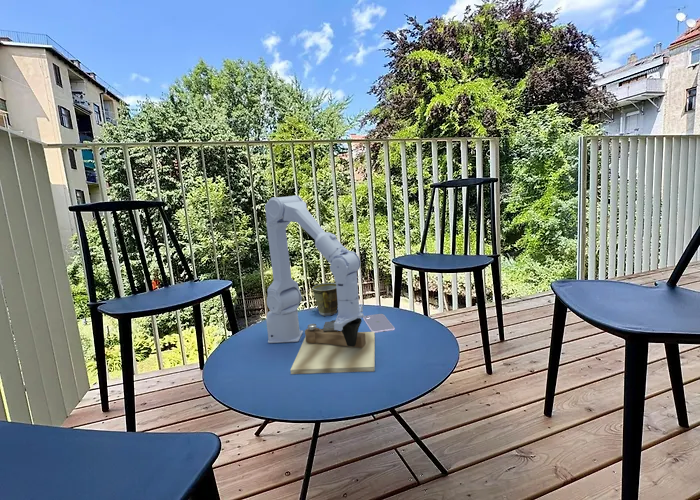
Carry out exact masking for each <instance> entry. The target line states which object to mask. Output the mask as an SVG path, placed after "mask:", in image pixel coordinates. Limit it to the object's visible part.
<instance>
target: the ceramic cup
mask: <svg viewBox="0 0 700 500" xmlns="http://www.w3.org/2000/svg"><path fill="white" fill-rule="evenodd" d="M312 293H313V295H314V300H315V302H316V306H317V311H318V314H319V315H321V316H324V317H326V316H333V315H336V314H338V302H337V290H336V282H324V283H318V284H316V285H314V286H312Z"/></svg>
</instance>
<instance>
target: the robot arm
mask: <svg viewBox="0 0 700 500" xmlns="http://www.w3.org/2000/svg"><path fill="white" fill-rule="evenodd" d="M264 210H265V211H264V212H265V219H266V224H265V225H266V233H267V239H268V245H269V247H268V248H269V255H270V263H271V271H272V278H273V279H272V282H271V284H270V285H269V286H268V287H267V297H266V305H267V308H268V309H269V311H267V314H266V319H265V320H266V321H265V322H266V329H267V330H266V331H267V337H268V340H267V343H268V344H276V343H278V344H279V343H299V341H300V339H301V337H302V335H303V334H304V333H303V332H304V330H301V329H300V323H299V321H300V320H299V313H298V309H299V308H300V307H299V305H300V304H301V302H302V299H303V298H302V293H301V290H300V289H299V283H298V281H296V280H294V279H293V278H292V271H291V262H290V255H289V248H288V247H289V246H288V238H287V227H288V226H289V225H290V223H291V222H293V223H294V222H295V223H297V224H298V225H299V226H300V227H301V228H302V229H303V230H304V231H305V232H306V233H307V234H308V235H309V236H310V237H311V238H312V239H314V246H315V248H316V250H318V251H319V253H320V254H321V255H322V256H323V257H324V258H325V260H326V261H327V262H328V263H329V269H330V272H331V274H332V276H333V277H334V283H336V290H337V302H338V308H337V316H336V318H335V320H336V321H335V322H334V330H338V331H342V333H343V335H344V337H345V340H346V343H347V346H352V347H354V346H355V345H356V339H357V333H358V332H359V329H360V327H361V324H362V321H363V320H362V318H363V317H364V316H365V315H364V313H363V311H364V307H363V305H362V304H360V299H359V288H358V287H359V285H358V273H357V272H358V271H359V270H360V269H361V268H360V267H361V259H360V257H359V256H358V254H357V253H356V252H355V251H352V250H349V249H347V248H346V247H345V246H344V245H343V244H342V243H341V242H340V241H339V239H337V236H336V235H335V233H332V232H330V231H329V232H328V231H327V232H326V231H324V229H323V228H322V227H321V225H320V224H319V222H318V221H317V220H316V219H315V217H314V216H313V215H312V213H311V212H310V211H309V209H308V208H307V203H306V201H304V200H303V198H302V197H301V196H299V195H297V194H295V195H288V196H287V195H286V196H278V197H276V196H274V197H270V198H269V199H268V200H267V202H266V203H265V205H264Z"/></svg>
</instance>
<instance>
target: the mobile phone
mask: <svg viewBox="0 0 700 500" xmlns="http://www.w3.org/2000/svg"><path fill="white" fill-rule="evenodd" d="M362 318H363V321H364V323H366V325H367V327H368V328H369V330H370V332H375V334H376V333H378V334H379V333H384V332H385V333H386V332H392V331H395V329H396V328H395V326H394V325H393V324H392V323H391V322H390V320H389V319H388V318H387V317H386V315H385V314H383V313H378V314H377V313H375V314H368V315H364V316H363V317H362Z"/></svg>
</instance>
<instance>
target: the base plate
mask: <svg viewBox="0 0 700 500" xmlns="http://www.w3.org/2000/svg"><path fill="white" fill-rule="evenodd" d="M358 333H365V339H366V344H365V345H364V346H363V347H362V348H358V347H350V346H341V345H333V344H324V343H308V342H306V338H305V337H304V339H303V341H302V344H301V345H300V347H299V349H298V352H297V355H296V357H295V359H294V361H293V363H292V365H291V368H290V375H303V374H304V375H306V374H307V375H308V374H309V375H310V374H329V373H330V374H331V373H335V374H337V373H339V374H340V373H362V372H363V373H364V372H365V373H366V372H376V371H375V369H376V367H375V366H376V365H375V364H376V363H375V361H376V360H375V359H376V358H375V357H376V356H375V354H376V351H375V349H376V348H375V346H376V345H375V344H376V342H375V341H376V340H375V338H376V337H375V335H376V333H375V332H371V331H360V332H359V331H358Z"/></svg>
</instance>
